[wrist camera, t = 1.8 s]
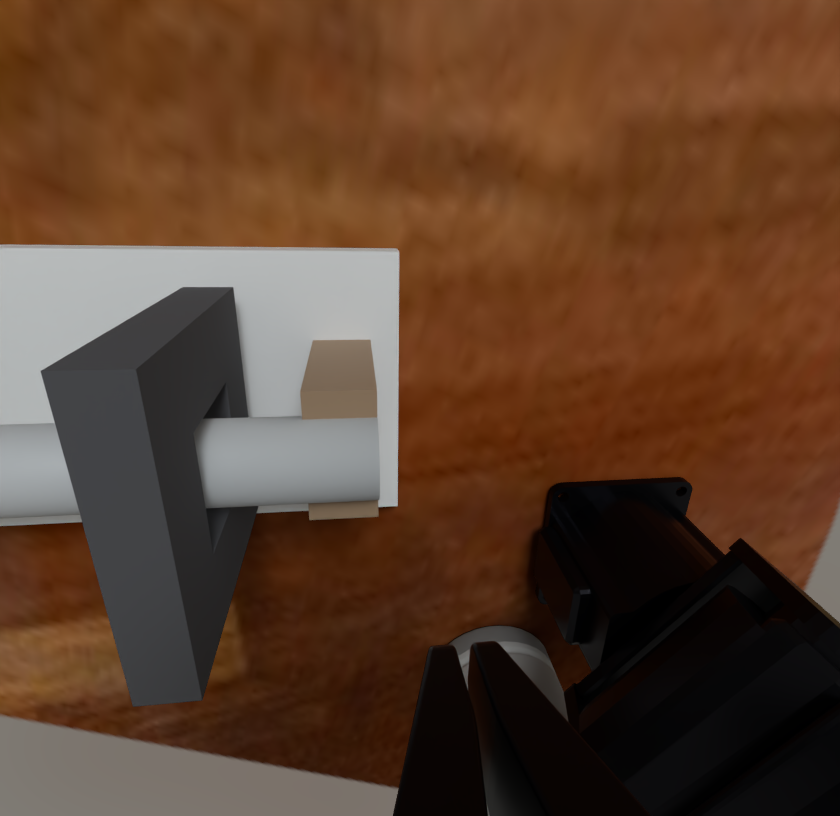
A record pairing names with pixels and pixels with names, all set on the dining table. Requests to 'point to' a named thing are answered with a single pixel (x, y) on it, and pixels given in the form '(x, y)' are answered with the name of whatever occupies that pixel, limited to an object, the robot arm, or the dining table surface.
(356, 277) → the pipe stand
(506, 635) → the travel mug
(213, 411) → the dark grey flat block
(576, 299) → the dining table surface
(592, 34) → the dining table surface
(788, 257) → the dining table surface
